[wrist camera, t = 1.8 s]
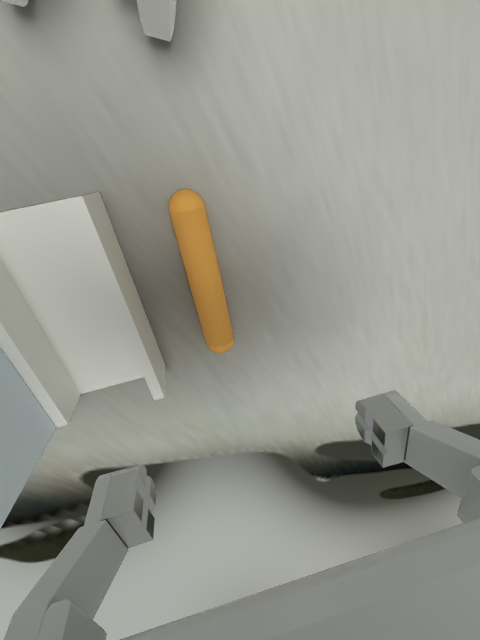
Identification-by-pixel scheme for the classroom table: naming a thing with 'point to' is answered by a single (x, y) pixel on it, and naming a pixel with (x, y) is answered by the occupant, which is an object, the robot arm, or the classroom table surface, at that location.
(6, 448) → the cover
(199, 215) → the rod
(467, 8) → the classroom table surface
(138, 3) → the cable organizer
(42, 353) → the duct
